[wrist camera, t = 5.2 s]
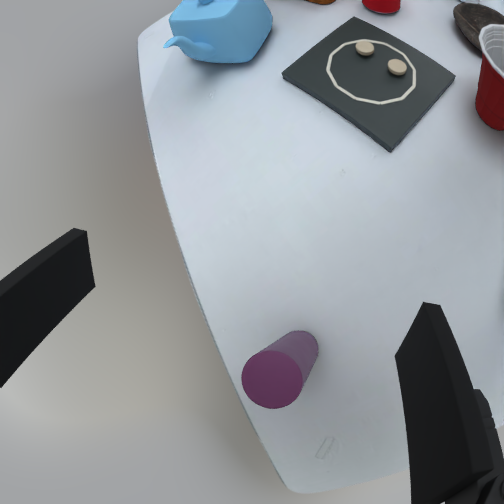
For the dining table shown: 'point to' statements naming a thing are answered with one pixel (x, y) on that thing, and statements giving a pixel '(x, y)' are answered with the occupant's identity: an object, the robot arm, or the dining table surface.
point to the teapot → (220, 29)
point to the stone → (475, 20)
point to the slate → (370, 80)
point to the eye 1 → (364, 48)
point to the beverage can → (382, 5)
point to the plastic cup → (491, 77)
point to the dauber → (280, 370)
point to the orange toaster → (321, 1)
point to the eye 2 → (397, 67)
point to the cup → (471, 1)
